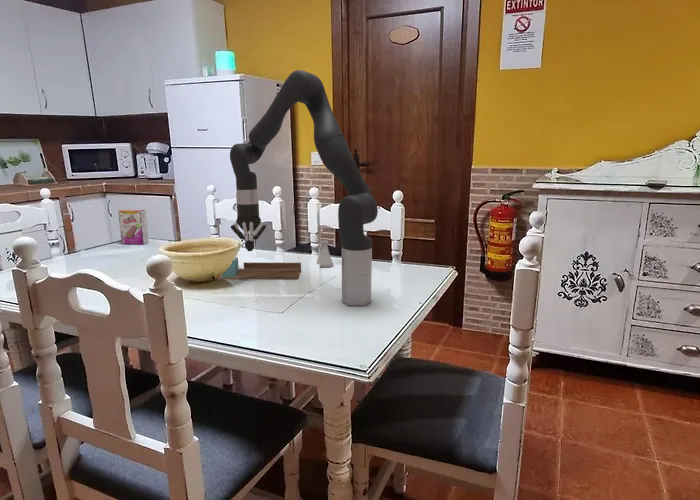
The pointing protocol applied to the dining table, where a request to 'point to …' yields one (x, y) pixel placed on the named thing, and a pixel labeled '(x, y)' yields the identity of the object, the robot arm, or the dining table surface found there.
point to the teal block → (232, 269)
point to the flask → (324, 255)
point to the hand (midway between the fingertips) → (250, 250)
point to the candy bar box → (133, 226)
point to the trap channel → (268, 271)
